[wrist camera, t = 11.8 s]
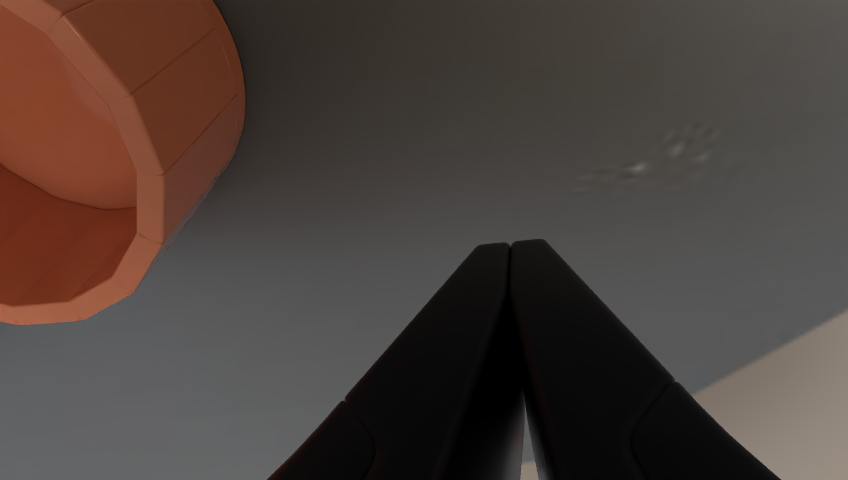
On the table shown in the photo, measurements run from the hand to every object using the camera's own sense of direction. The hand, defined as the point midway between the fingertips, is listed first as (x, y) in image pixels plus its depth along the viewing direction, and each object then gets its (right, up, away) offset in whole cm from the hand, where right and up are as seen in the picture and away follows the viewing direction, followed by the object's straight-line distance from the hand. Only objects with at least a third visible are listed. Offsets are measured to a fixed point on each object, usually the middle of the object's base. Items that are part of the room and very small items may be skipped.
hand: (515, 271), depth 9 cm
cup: (-10, +5, +10) cm, 15 cm away
